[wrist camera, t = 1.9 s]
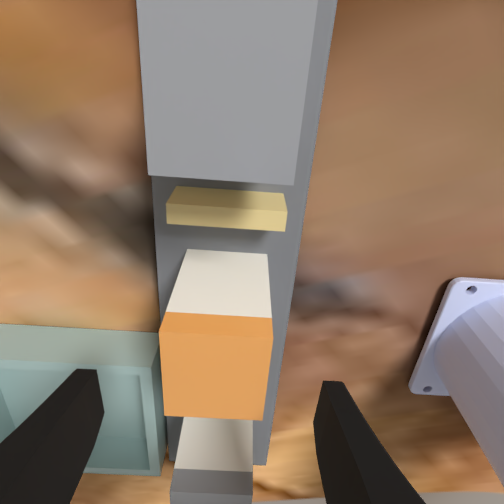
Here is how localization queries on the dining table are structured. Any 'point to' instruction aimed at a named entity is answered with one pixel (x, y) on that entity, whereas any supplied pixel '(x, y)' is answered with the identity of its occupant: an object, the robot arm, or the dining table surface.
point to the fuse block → (246, 227)
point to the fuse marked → (217, 337)
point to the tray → (111, 385)
